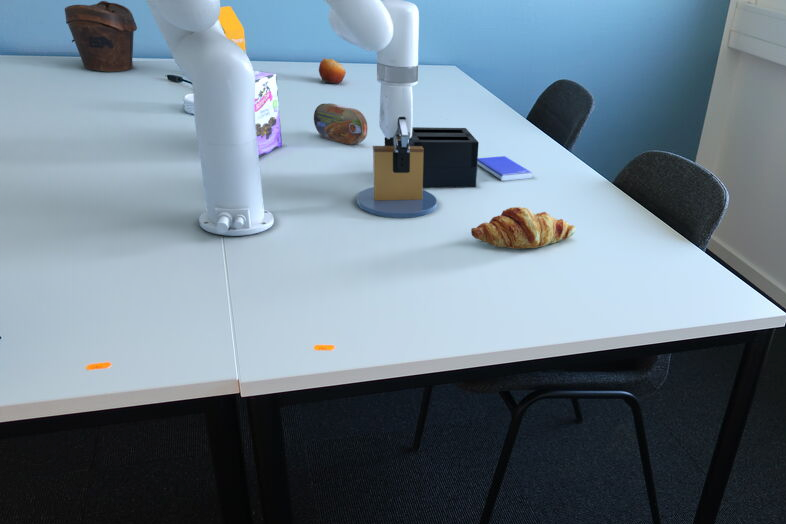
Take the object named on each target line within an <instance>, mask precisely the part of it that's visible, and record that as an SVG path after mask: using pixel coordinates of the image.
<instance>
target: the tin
mask: <svg viewBox="0 0 786 524" xmlns="http://www.w3.org/2000/svg"><path fill="white" fill-rule="evenodd" d="M313 122H314V127H315V129H316V132H318V134H319V135H320V136H321V137H322V138H324V139H326V140H329V141H330V140H331V141H335V142H338V143H342V144H345V145H350V146H353V145H356V144H361V143H362V142H364V141H365V139H366V138H367V136H368V122H367V118H366V117H365V116H364V114H363V113H362V112H361V111H360V110H358V109H356V108H353V107H348V106H343V105H340V104H336V103H332V102H331V103H330V102H329V103H328V102H327V103H321V104H319V105H318V106H316V108H315V110H314V113H313Z"/></svg>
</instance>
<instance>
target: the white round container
mask: <svg viewBox="0 0 786 524" xmlns="http://www.w3.org/2000/svg"><path fill="white" fill-rule="evenodd" d="M182 101H183V108H184V111H185V112H186V113H188V114H191V115H194V95H193V92H192V93H188V94H185V95H184V96H183V97H182Z"/></svg>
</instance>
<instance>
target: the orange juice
mask: <svg viewBox="0 0 786 524" xmlns="http://www.w3.org/2000/svg"><path fill="white" fill-rule="evenodd" d="M218 20H219V22H220V24H221V27H222V29H223V31H224V34H225V36H226V37H227V38H228V39H230V40H231V41H233V42H234V43H236V44H237V45H238V46H239V47H240V48H241V49H242V50H243V51H244V52H245V53H246V54H247V48H246V38H245V28H244V26H243V24H242V23H241V21H240V19H239V18H238V17H237V14H236V13H235V11H234V10H233V8H232V6H231V5H226V6H220V14H219V17H218Z"/></svg>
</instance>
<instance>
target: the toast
mask: <svg viewBox="0 0 786 524" xmlns="http://www.w3.org/2000/svg"><path fill="white" fill-rule="evenodd" d="M409 147H410V172H409V173H394V172H393V151H394V146H385V145H373V146H372V168H373V169H372V172H373V174H372V175H373V176H372V177H373V178H372V179H373V187H374V199H375V200H422V193H423V190H424V188H423V152H424V149H423V147H422V146H409ZM394 152H395V151H394Z"/></svg>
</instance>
